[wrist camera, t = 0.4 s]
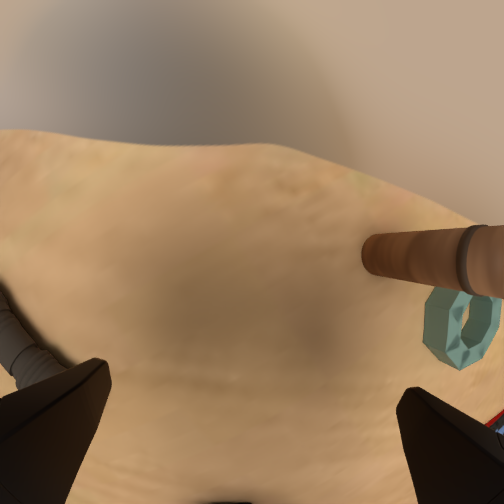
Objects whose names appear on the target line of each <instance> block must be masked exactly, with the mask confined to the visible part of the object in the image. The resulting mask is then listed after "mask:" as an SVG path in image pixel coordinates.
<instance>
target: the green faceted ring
mask: <svg viewBox="0 0 504 504" xmlns="http://www.w3.org/2000/svg"><path fill="white" fill-rule="evenodd" d="M469 302H470V313H469V319H468V321H467V323H466V324H465V326H464V328H463V330H462V331H461V328H462V317H463V313H464V312H465V310H466V308H467V306H468V304H469ZM501 303H502V299H500V298H495V297H489V296H483V297H478V296H473V295H469V294H467V293H465V292H463V291H457V290H452V289H447V288H441V287H435V288H434V290H433V292H432V294H431V295H430V297H429V298H428V300H427V302H426V303H425V321H424V335H423V343H424V344H425V345H426V346H427V347H428V348H429V349H430V350H431V352H432V353H433V354H434V355H435V356H436V357H437V358H438V359H439V360H440V361H442V362H444V363H446V364H448V365H450V366H452V367H454V368H455V369H457V370H459V371H460V370H462V369H464V368H465V367H467V366H469V365H471V364H473V363H475V362H477V361H478V360H480V359H482V358H483V356H484V354H485V353H486V351H487V349H488V347H489V345H490V344H491V342H492V340H493V338H494V336H495V334H496V332H497V330H498V328H499V323H500V314H501Z"/></svg>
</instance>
